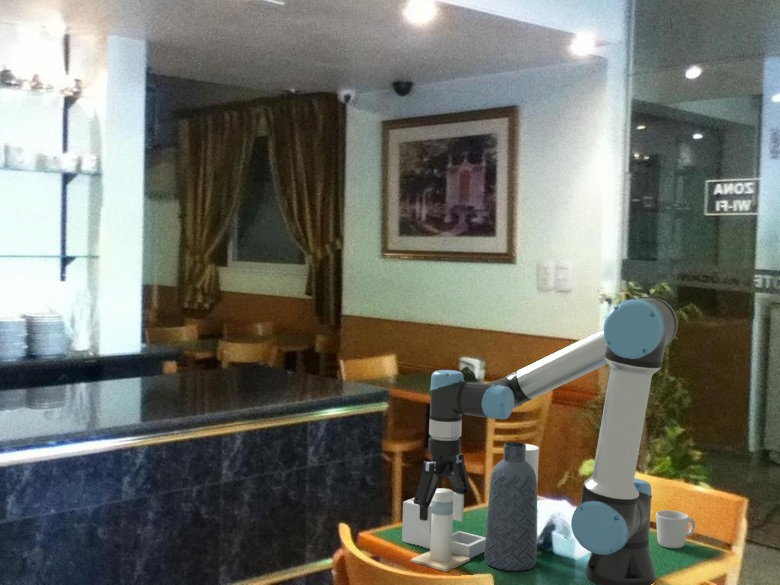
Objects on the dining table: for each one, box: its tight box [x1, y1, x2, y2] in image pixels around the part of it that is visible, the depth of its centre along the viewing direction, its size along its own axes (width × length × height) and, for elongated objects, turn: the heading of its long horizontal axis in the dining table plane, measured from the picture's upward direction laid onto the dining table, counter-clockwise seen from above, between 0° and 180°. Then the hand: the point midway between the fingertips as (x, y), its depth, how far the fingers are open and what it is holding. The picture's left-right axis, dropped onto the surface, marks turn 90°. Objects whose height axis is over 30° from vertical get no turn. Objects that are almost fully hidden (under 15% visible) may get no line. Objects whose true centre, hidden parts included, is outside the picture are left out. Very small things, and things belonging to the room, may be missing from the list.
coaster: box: [410, 550, 471, 573], centre depth 223 cm, size 10×10×1 cm
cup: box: [655, 509, 696, 549], centre depth 240 cm, size 11×8×8 cm
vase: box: [484, 441, 538, 572], centre depth 222 cm, size 12×12×28 cm
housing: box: [401, 497, 486, 559], centre depth 234 cm, size 20×9×10 cm, turn 53°
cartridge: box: [429, 487, 454, 562], centre depth 223 cm, size 5×5×16 cm
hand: (441, 526), depth 223 cm, fingers open, 13 cm apart
